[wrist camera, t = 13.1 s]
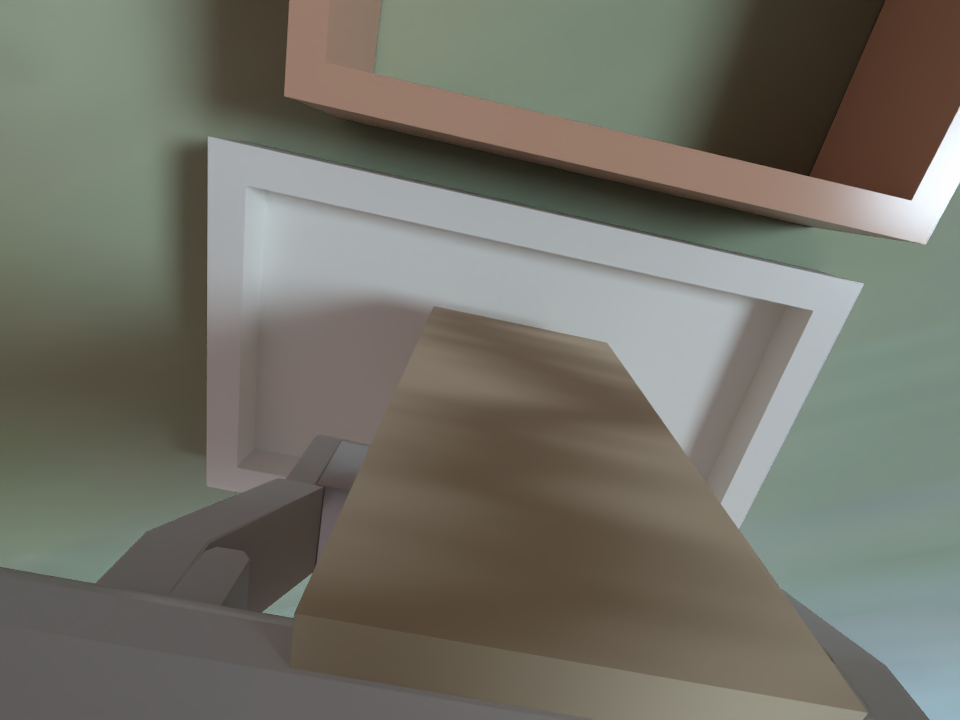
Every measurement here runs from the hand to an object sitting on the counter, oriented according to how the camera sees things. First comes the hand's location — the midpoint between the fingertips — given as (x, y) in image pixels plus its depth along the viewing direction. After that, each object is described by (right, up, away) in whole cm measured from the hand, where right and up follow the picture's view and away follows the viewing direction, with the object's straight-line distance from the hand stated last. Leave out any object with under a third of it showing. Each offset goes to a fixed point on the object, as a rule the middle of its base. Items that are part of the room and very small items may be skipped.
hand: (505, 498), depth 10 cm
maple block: (0, +2, +4) cm, 5 cm away
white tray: (0, +2, +7) cm, 7 cm away
